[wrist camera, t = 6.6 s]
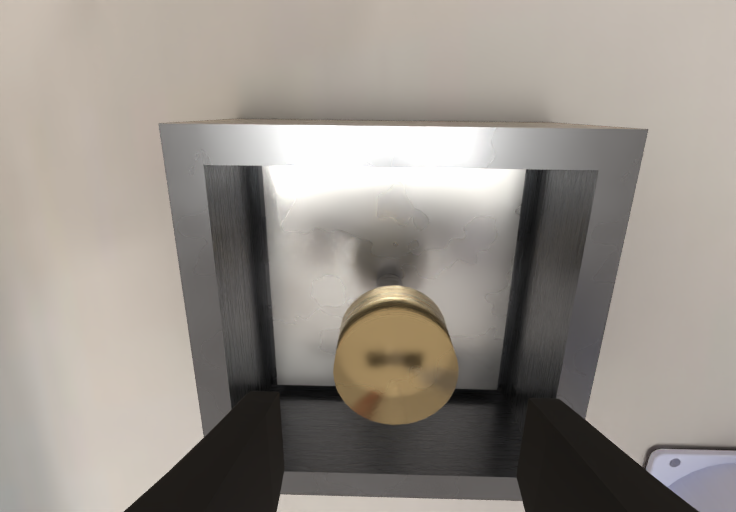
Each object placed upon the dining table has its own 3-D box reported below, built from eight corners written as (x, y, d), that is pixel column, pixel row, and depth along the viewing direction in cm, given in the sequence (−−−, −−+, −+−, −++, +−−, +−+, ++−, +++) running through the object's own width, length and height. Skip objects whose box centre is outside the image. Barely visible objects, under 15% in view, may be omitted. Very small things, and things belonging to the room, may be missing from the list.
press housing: (552, 122, 16) (648, 129, 10) (512, 389, 20) (567, 502, 14) (235, 118, 16) (158, 123, 10) (258, 384, 20) (211, 492, 14)
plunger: (521, 163, 15) (613, 198, 9) (493, 380, 18) (549, 512, 12) (266, 160, 15) (195, 192, 9) (280, 376, 18) (233, 504, 12)
